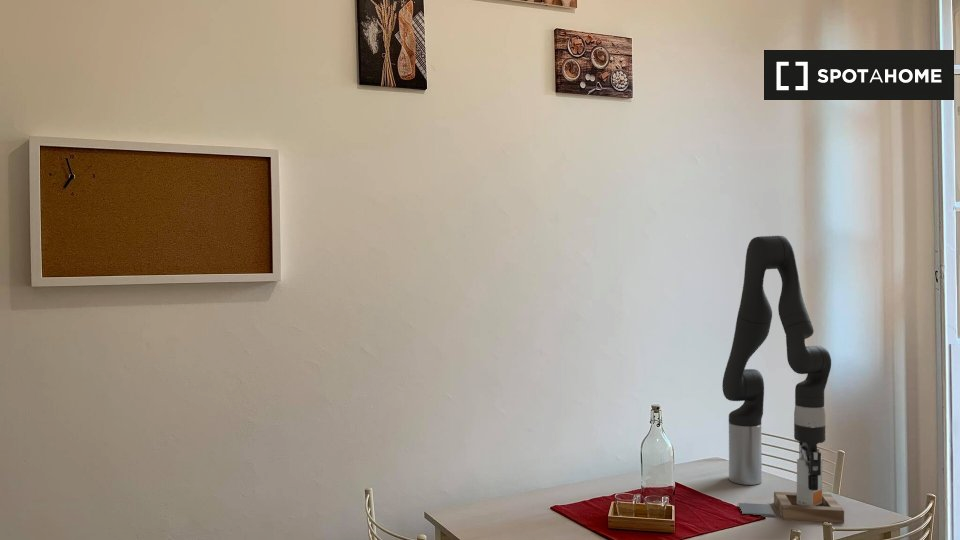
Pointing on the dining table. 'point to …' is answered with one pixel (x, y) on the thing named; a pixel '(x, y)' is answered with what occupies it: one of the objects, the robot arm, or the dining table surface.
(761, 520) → the dining table surface
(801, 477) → the skincare box
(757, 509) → the slate coaster
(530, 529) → the dining table surface
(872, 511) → the dining table surface
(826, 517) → the socket block
